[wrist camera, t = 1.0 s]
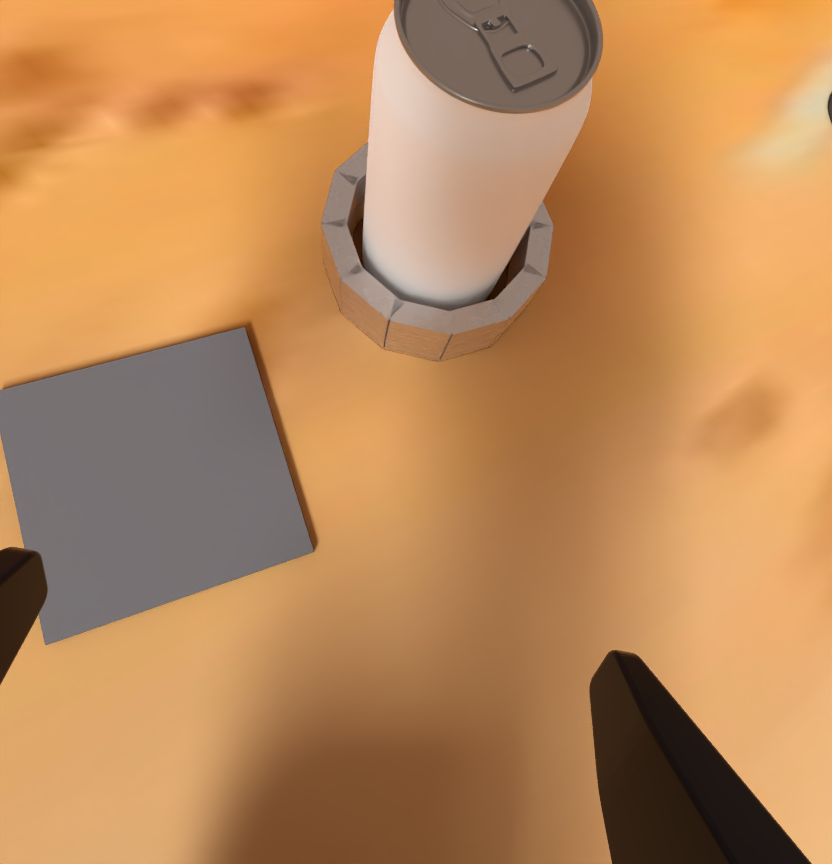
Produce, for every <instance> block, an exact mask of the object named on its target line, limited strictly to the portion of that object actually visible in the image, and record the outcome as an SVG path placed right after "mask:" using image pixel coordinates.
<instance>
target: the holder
mask: <svg viewBox="0 0 832 864" xmlns="http://www.w3.org/2000/svg"><path fill="white" fill-rule="evenodd" d="M367 156H368V142H367V143H366V144H365V145H364V146H363V147H361V148H360V149H359V150H358V151H357V152H356V153H355V154H353V155H352V156H351V157H350V158H349V159H348V160H347V161H345V162H344V163H343V164H342V165H341V166H340V167H339V168H337V169H336V170H335V172H334V176H333V180H332V183H331V187H330V191H329V195H328V199H327V202H326V206H325V210H324V214H323V218H322V221H321V229H322V244H323V260H324V265H325V268H326V271H327V274H328V277H329V280H330V283H331V286H332V289H333V292H334V295H335V297H336V300H337V303H338V306H339V309H340V312H341V313H342V314H343V315H344V316H346V317H347V318H348V319H349V320H350V321H351V322H352V323H354V324H355V325H356V326H357V327H358V328H359V329H361V330H362V331H363V332H364V333H365V334H366V335H368V336H369V337H370V338H371V339H372V340H373V341H374V342H376V343H377V344H378V345H379V346H380V347H381V348H384V347H385V348H384V349H385V350H389V351H394V352H398V353H403V354H407V355H412V356H416V357H421V358H425V359H429V360H434V361H443V360H446V359H450V358H453V357H457V356H460V355H464V354H467V353H470V352H474V351H477V350H481V349H484V348H487V347H490V346H492V344H493V343H494V342H495V341H496V340H497V339H498V338H499V337H500V336H501V334H502V333H503V332H504V331H505V330H506V329H507V328H508V327H509V326H510V324H511V323H512V322H513V321H514V320H515V319H516V318H517V317H518V315H519V314H520V313H521V312H522V311H523V310H524V308H525V307H526V306H527V304H528V303H529V302H530V300H531V299H532V297H533V296H534V295H535V293H536V292H537V290H538V289H539V288H540V286H541V285H542V284H543V282H544V281H545V279H546V277H547V271H548V264H549V257H550V250H551V242H552V235H553V228H554V226H553V223H552V220H551V218H550V216H549V213H548V211H547V209H546V207H545V204H544V202H543V201H542V203H541V204H540V206H539V208H538V210H537V212H536V213H535V215H534V217H533V219H532V221H531V222H530V224H529V226H528V228H527V230H526V231H525V233H524V235H523V237H522V239H521V240H520V242H519V244H518V246H517V248H516V249H515V251H514V253H513V255H512V257H511V258H510V260H509V261H510V266H509V273H508V279H507V285H506V288H505V289H504V290H503V291H502V292H501V293H500V294H499V295H498V296H497V297H496V298H495V299H492V300H489V301H485V302H481V303H478V304H474V305H470V306H467V307H463V308H460V309H456V310H452V311H446V310H442V309H438V308H433V307H429V306H425V305H421V304H416V303H412V302H408V301H403V300H400V299H399V298H398V297H396V296H395V295H394V294H393V293H392V292H391V291H389V290H388V289H387V288H386V287H385V286H384V285H382V284H381V283H380V282H379V281H378V280H377V279H375V278H374V277H373V276H372V275H371V274H369V273H368V272H367V271H366V270H365V269H364V268H362V265H361V263H360V260H359V257H358V254H357V251H356V249H355V246H354V243H353V240H352V237H353V232H354V228H355V225H356V224H357V223H358V222H359V221H360V220H361V219H362V218H363V217H364V204H365V188H366V171H367Z"/></svg>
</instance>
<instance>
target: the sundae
mask: <svg viewBox="0 0 832 864" xmlns="http://www.w3.org/2000/svg"><path fill="white" fill-rule="evenodd" d="M829 114H830V118H831V121H832V94H831V97H830V101H829Z"/></svg>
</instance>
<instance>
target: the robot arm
mask: <svg viewBox="0 0 832 864" xmlns="http://www.w3.org/2000/svg"><path fill="white" fill-rule="evenodd" d="M47 594H48V585H47V580H46V575H45V570H44V566H43V561H42V557H41V555H40V554H39V553H38V552H37V551H34V550H28V549H23V548H17V547H9V548H5V549H3V550H0V685H1V683H2V681H3V679H4V677H5V675H6V673H7V672H8V670H9V668H10V666H11V664H12V662H13V661H14V659H15V657H16V655H17V653H18V651H19V649H20V648H21V646H22V644H23V642H24V640H25V638H26V637H27V635H28V633H29V631H30V629H31V627H32V625H33V624H34V622H35V620H36V618H37V616H38V614H39V612H40V611H41V609H42V607H43V605H44V603H45V600H46V598H47ZM590 704H591V715H592V726H593V737H594V748H595V759H596V770H597V779H598V788H599V795H600V801H601V807H602V812H603V818H604V823H605V828H606V833H607V839H608V844H609V849H610V854H611V860H612V864H812V863H811V862H810V861H809V860H808V859H807V857H806V856H805V855H804V854H803V853H802V851H801V850H800V849H799V848H798V847H797V845H796V844H795V843H794V842H793V841H792V839H791V838H790V837H789V836H788V835H787V833H786V832H785V831H784V830H783V829H782V827H781V826H780V825H779V824H778V823H777V821H776V820H775V819H774V818H773V817H772V815H771V814H770V813H769V812H768V811H767V809H766V808H765V807H764V806H763V805H762V803H761V802H760V801H759V800H758V799H757V797H756V796H755V795H754V794H753V793H752V791H751V790H750V789H749V788H748V787H747V785H746V784H745V783H744V782H743V781H742V779H741V778H740V777H739V776H738V775H737V773H736V772H735V771H734V770H733V769H732V767H731V766H730V765H729V764H728V763H727V761H726V760H725V759H724V758H723V757H722V755H721V754H720V753H719V752H718V751H717V749H716V748H715V747H714V746H713V745H712V743H711V742H710V741H709V740H708V739H707V737H706V736H705V735H704V734H703V733H702V731H701V730H700V729H699V728H698V727H697V725H696V724H695V723H694V722H693V721H692V719H691V718H690V717H689V716H688V715H687V713H686V712H685V711H684V710H683V709H682V707H681V706H680V705H679V704H678V703H677V701H676V700H675V699H674V698H673V697H672V695H671V694H670V693H669V692H668V691H667V689H666V688H665V687H664V686H663V685H662V683H661V682H660V681H659V680H658V678H657V677H656V676H655V675H654V674H653V672H652V671H651V670H650V669H649V668H648V666H647V665H646V664H645V663H644V662H643V660H642V659H641V658H640V657H639V656H637V655H636V654H634V653H630V652H624V651H618V650H612V651H610V652H609V653H608V654H607V655H606V657H605V659H604V660H603V662H602V663H601V665H600V666H599V668H598V669H597V671H596V672H595V674H594V676H593V677H592V680H591V683H590Z"/></svg>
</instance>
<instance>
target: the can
mask: <svg viewBox="0 0 832 864" xmlns="http://www.w3.org/2000/svg"><path fill="white" fill-rule="evenodd" d="M602 48H603V33H602V26H601V22H600V18H599V15H598V12H597V10H596V7H595V5H594V3H593V1H592V0H394V9H393V11H392V12H391V14H390V15H389V17H388V19H387V20H386V22H385V24H384V26H383V29H382V31H381V33H380V36H379V39H378V43H377V48H376V53H375V60H374V71H373V82H372V96H371V110H370V125H369V140H368V156H367V171H366V188H365V204H364V222H363V242H362V258H363V266H364V269H365V270H366V271H367V272H368V273H369V274H371V275H372V276H373V277H374V278H375V279H377V280H378V281H379V282H380V283H381V284H382V285H384V286H385V287H386V288H387V289H388V290H389V291H391V292H392V293H393V294H394V295H395V296H396V297H398V298H399V299H400V300H403V301H408V302H412V303H416V304H421V305H425V306H429V307H433V308H438V309H442V310H446V311H452V310H456V309H460V308H463V307H467V306H470V305H474V304H478V303H481V302H484V301H485V300H486V298H487V297H488V296H489V294H490V293H491V291H492V290H493V288H494V286H495V285H496V283H497V281H498V279H499V278H500V276H501V274H502V272H503V271H504V269H505V267H506V265H507V264H508V262H509V260H510V258H511V257H512V255H513V253H514V251H515V249H516V248H517V246H518V244H519V242H520V240H521V239H522V237H523V235H524V233H525V231H526V230H527V228H528V226H529V224H530V222H531V221H532V219H533V217H534V215H535V213H536V212H537V210H538V208H539V206H540V204H541V203H542V201H543V199H544V197H545V195H546V194H547V192H548V190H549V188H550V186H551V185H552V183H553V181H554V179H555V177H556V175H557V174H558V172H559V170H560V168H561V166H562V165H563V163H564V161H565V159H566V157H567V155H568V153H569V152H570V150H571V148H572V146H573V144H574V142H575V140H576V138H577V136H578V134H579V132H580V130H581V128H582V126H583V124H584V121H585V119H586V116H587V114H588V111H589V107H590V103H591V96H592V77H593V75H594V73H595V71H596V69H597V67H598V65H599V62H600V58H601V54H602Z"/></svg>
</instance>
